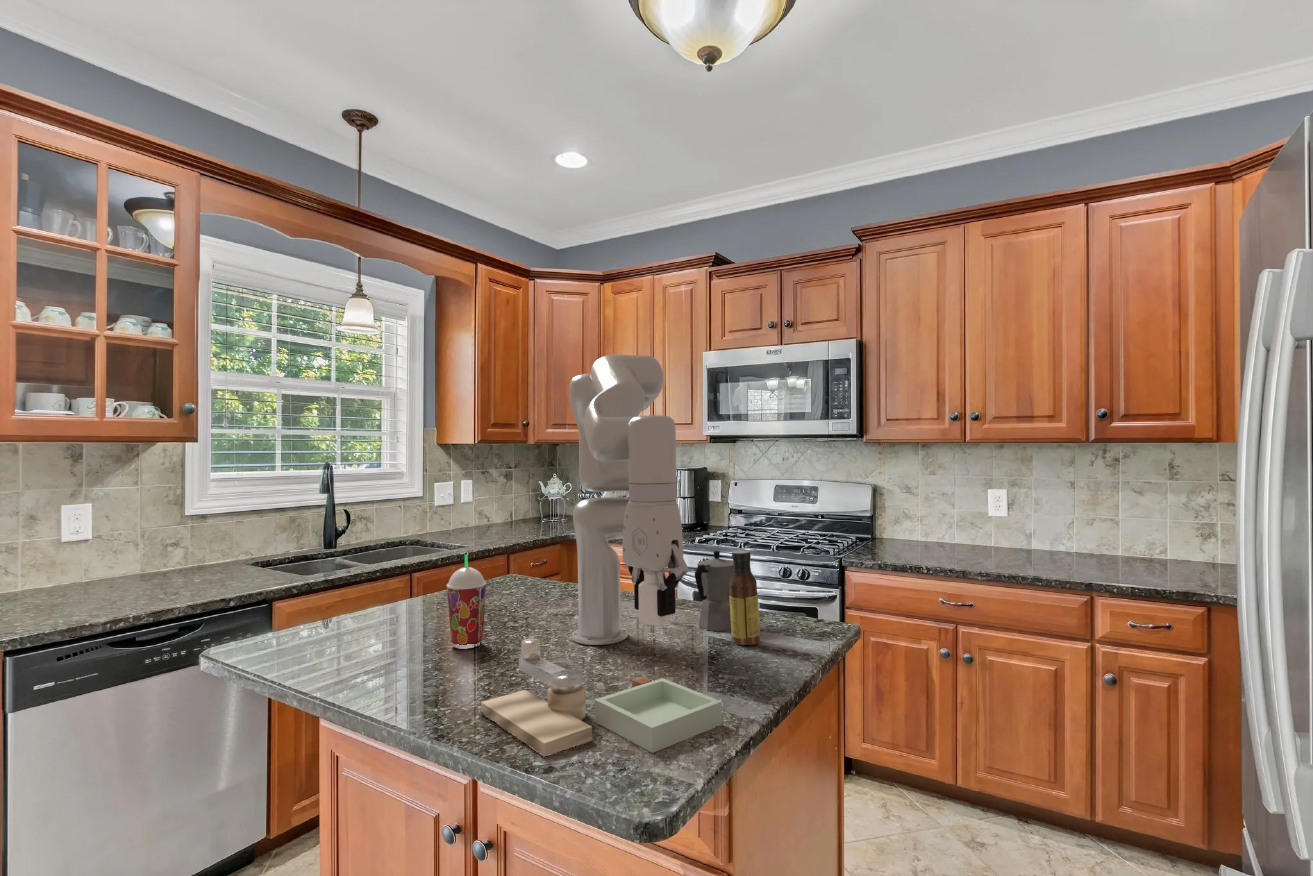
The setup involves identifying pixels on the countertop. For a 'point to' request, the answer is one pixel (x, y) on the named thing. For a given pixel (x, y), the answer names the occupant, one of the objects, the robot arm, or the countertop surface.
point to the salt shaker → (650, 600)
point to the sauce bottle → (743, 601)
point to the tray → (658, 714)
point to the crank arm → (547, 669)
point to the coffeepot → (714, 592)
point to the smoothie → (466, 605)
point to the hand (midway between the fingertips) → (654, 610)
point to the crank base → (545, 718)
